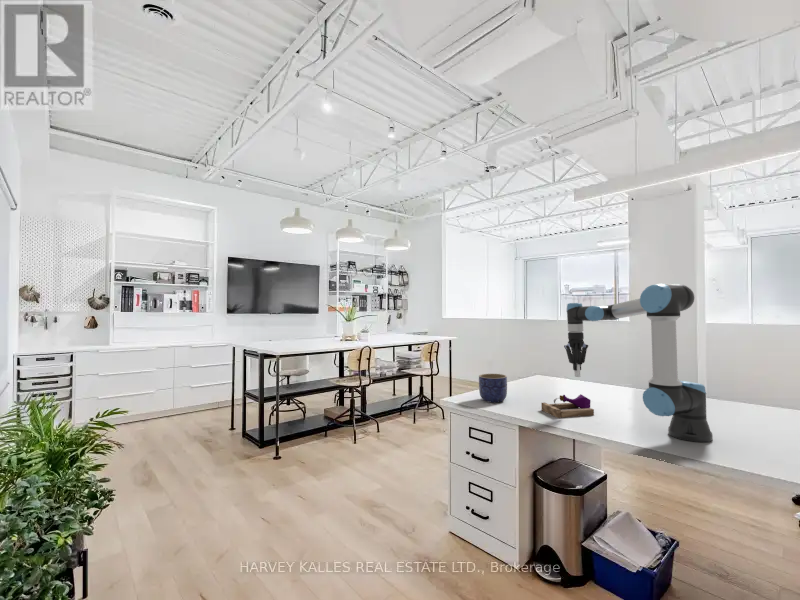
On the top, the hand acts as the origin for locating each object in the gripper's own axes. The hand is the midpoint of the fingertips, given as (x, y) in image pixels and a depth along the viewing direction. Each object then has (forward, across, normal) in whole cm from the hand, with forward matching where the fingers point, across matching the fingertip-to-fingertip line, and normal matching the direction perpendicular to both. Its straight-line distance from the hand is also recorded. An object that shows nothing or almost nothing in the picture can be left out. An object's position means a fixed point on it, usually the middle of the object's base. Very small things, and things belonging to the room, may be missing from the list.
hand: (577, 376), depth 207 cm
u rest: (+19, +6, -1) cm, 20 cm away
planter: (+18, +33, -35) cm, 51 cm away
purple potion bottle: (+15, -7, -1) cm, 16 cm away
